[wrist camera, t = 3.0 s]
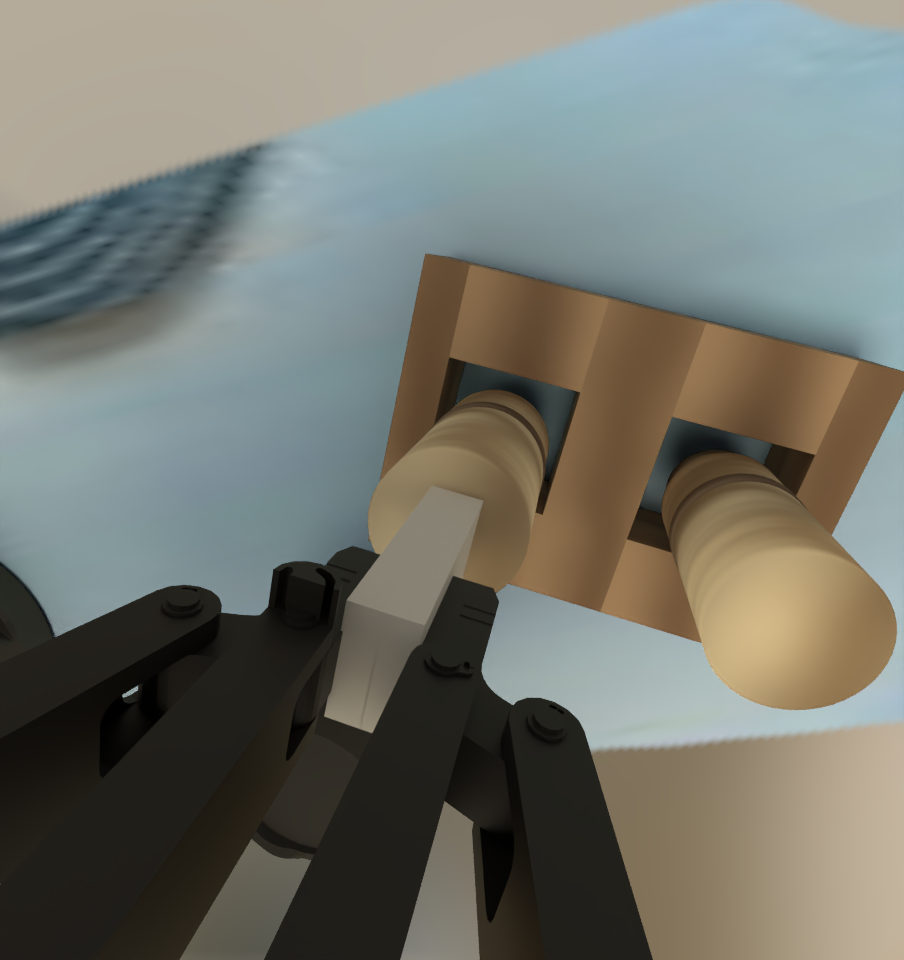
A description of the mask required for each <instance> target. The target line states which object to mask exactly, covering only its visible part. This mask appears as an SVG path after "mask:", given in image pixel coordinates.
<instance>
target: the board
mask: <svg viewBox="0 0 904 960" xmlns="http://www.w3.org/2000/svg"><path fill="white" fill-rule="evenodd" d="M465 362H469V363H473V364H477V365H480V366H484V367H488V368H492V369H495V370H499V371H503V372H507V373H510V374H514V375H518V376H522V377H525V378H529V379H533V380H536V381H540V382H544V383H548V384H551V385H555V386H559V387H563V388H566V389H570V390H574V391H576V394H575V397H574V401H573V404H572V407H571V411H570V414H569V417H568V420H567V424H566V427H565V430H564V434H563V437H562V440H561V443H560V447H559V450H558V453H557V456H556V460H555V463H554V466H553V470H552V473H551V476H550V479H549V482H548V481H544V480H543V485H542V488H541V491H540V493H539V497H538V502H537V507H536V511H535V516H534V521H533V525H532V530H531V535H530V539H529V544H528V548H527V553H526V556H525V559H524V561H523V564H522V565H521V567H520V569H519V571H518V572H517V574H516V575H515V576H514V578H513V579H512V580H511V581H510V582H509V583H508V584H512V585H515V586H518V587H521V588H525V589H528V590H531V591H534V592H538V593H541V594H544V595H547V596H551V597H554V598H557V599H560V600H564V601H567V602H570V603H573V604H577V605H580V606H583V607H586V608H590V609H593V610H596V611H599V612H603V613H606V614H609V615H612V616H616V617H619V618H622V619H625V620H628V621H632V622H635V623H638V624H641V625H645V626H648V627H651V628H654V629H658V630H661V631H664V632H667V633H671V634H674V635H677V636H680V637H684V638H687V639H690V640H693V641H697V642H700V643H702V642H701V639H700V635H699V632H698V629H697V626H696V623H695V620H694V616H693V613H692V610H691V607H690V604H689V601H688V598H687V594H686V591H685V588H684V585H683V582H682V579H681V576H680V572H679V570H678V568H677V566H676V564H675V561H674V558H673V555H672V551H671V548H670V542H669V538H668V535H667V531H666V528H665V525H664V522H663V518H662V514H659V513H656V512H652V511H649V510H645V509H642V508H639V505H640V502H641V500H642V497H643V494H644V492H645V489H646V486H647V483H648V481H649V478H650V475H651V472H652V470H653V467H654V464H655V462H656V459H657V456H658V453H659V451H660V448H661V445H662V443H663V440H664V437H665V434H666V432H667V429H668V426H669V424H670V421H671V418H672V417H675V418H679V419H683V420H686V421H690V422H694V423H698V424H701V425H705V426H709V427H713V428H716V429H720V430H724V431H728V432H731V433H735V434H739V435H743V436H746V437H750V438H754V439H758V440H761V441H765V442H769V443H773V445H772V447H771V449H770V452H769V454H768V456H767V459H766V461H765V463H764V466H765V467H766V468H767V469H768V470H770V471H771V473H772V474H773V475H774V476H775V477H776V478H777V479H778V480H779V481H780V482H781V483H782V484H783V485H784V486H785V487H787V488H788V489H789V490H790V491H791V492H792V493H793V494H794V495H795V496H796V497H797V498H798V499H799V500H800V501H801V502H802V503H803V504H804V506H805V507H806V508H807V510H808V511H809V513H810V514H811V515H812V516H813V517H814V518H815V519H816V520H817V521H818V522H819V523H820V524H821V525H822V526H823V527H824V528H825V529H826V530H827V531H828V533H829V534H830V535H832V533H833V531H834V529H835V527H836V525H837V523H838V521H839V519H840V517H841V515H842V513H843V511H844V509H845V507H846V505H847V503H848V501H849V499H850V497H851V495H852V493H853V491H854V489H855V487H856V485H857V483H858V481H859V479H860V477H861V475H862V473H863V471H864V469H865V467H866V465H867V463H868V461H869V459H870V457H871V455H872V453H873V451H874V449H875V447H876V445H877V443H878V441H879V439H880V437H881V435H882V433H883V431H884V429H885V427H886V425H887V423H888V421H889V419H890V417H891V415H892V413H893V411H894V409H895V407H896V405H897V403H898V401H899V399H900V397H901V395H902V393H903V391H904V371H900V370H897V369H893V368H890V367H887V366H883V365H880V364H877V363H873V362H870V361H867V360H863V359H860V358H856V357H852V356H848V355H844V354H840V353H836V352H832V351H828V350H824V349H819V348H815V347H811V346H807V345H803V344H799V343H795V342H791V341H787V340H783V339H779V338H775V337H771V336H767V335H763V334H759V333H755V332H751V331H747V330H742V329H738V328H734V327H730V326H726V325H722V324H718V323H714V322H710V321H706V320H702V319H698V318H694V317H690V316H686V315H682V314H678V313H674V312H670V311H666V310H661V309H657V308H653V307H649V306H645V305H641V304H637V303H633V302H629V301H625V300H621V299H617V298H613V297H609V296H605V295H601V294H597V293H593V292H589V291H585V290H580V289H576V288H572V287H568V286H564V285H560V284H556V283H552V282H548V281H544V280H540V279H536V278H532V277H528V276H524V275H520V274H516V273H512V272H508V271H503V270H499V269H495V268H491V267H487V266H483V265H479V264H475V263H471V262H467V261H463V260H459V259H455V258H451V257H445V256H438V255H431V254H425V257H424V262H423V267H422V272H421V277H420V282H419V287H418V293H417V298H416V303H415V308H414V313H413V318H412V323H411V328H410V333H409V338H408V343H407V348H406V353H405V358H404V363H403V368H402V373H401V378H400V383H399V388H398V393H397V398H396V403H395V408H394V413H393V418H392V423H391V428H390V433H389V438H388V443H387V448H386V453H385V458H384V463H383V468H382V473H381V478H380V481H381V479H382V478H383V477H384V476H385V475H386V473H387V472H388V471H389V470H390V469H391V468H392V467H393V466H394V465H395V464H396V463H397V462H398V461H399V460H401V459H402V458H403V457H404V456H405V455H406V454H407V453H408V452H409V451H410V450H411V449H412V448H413V447H414V446H415V445H416V444H417V443H418V442H419V441H420V440H421V439H422V438H423V437H424V436H425V435H426V434H427V433H428V432H429V430H430V429H431V428H432V427H433V425H434V424H435V423H436V422H437V421H438V420H439V419H440V418H441V417H443V416H444V415H445V414H446V413H448V412H449V411H450V410H451V409H452V408H453V407H454V406H455V403H456V399H457V395H458V390H459V386H460V382H461V377H462V373H463V369H464V365H465ZM368 540H369V541H371V540H370V536H369V539H368Z"/></svg>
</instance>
